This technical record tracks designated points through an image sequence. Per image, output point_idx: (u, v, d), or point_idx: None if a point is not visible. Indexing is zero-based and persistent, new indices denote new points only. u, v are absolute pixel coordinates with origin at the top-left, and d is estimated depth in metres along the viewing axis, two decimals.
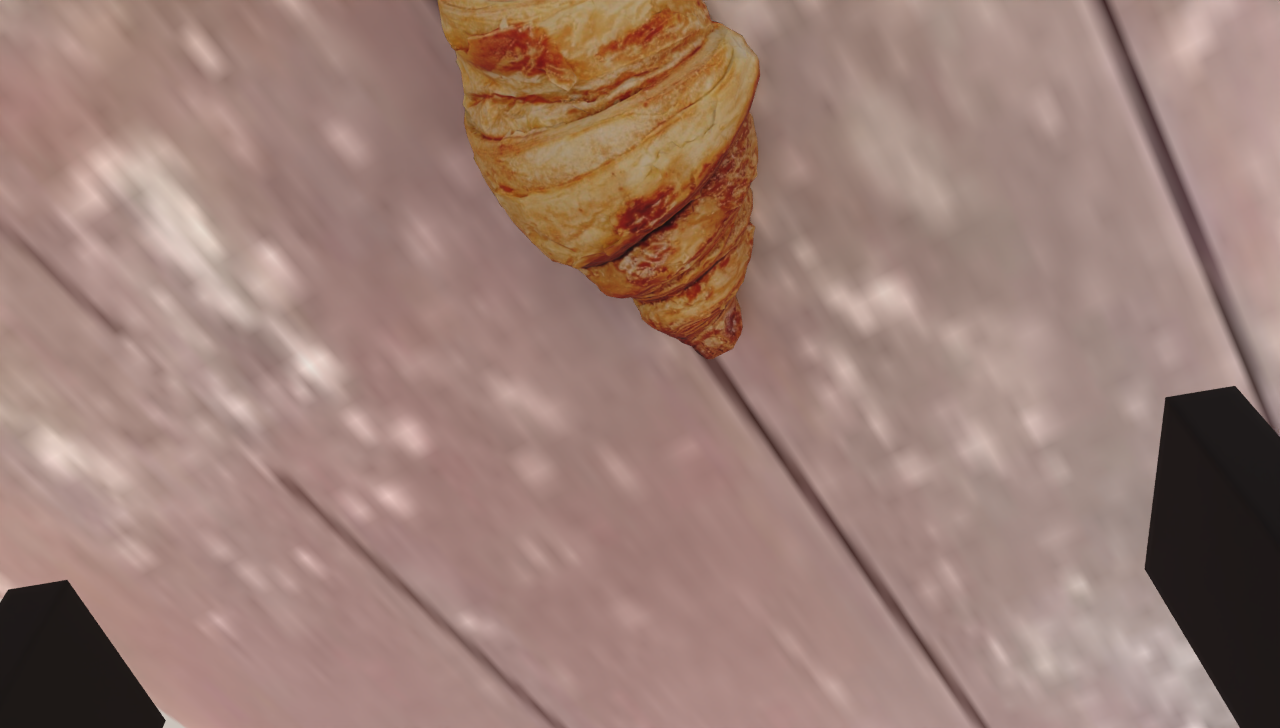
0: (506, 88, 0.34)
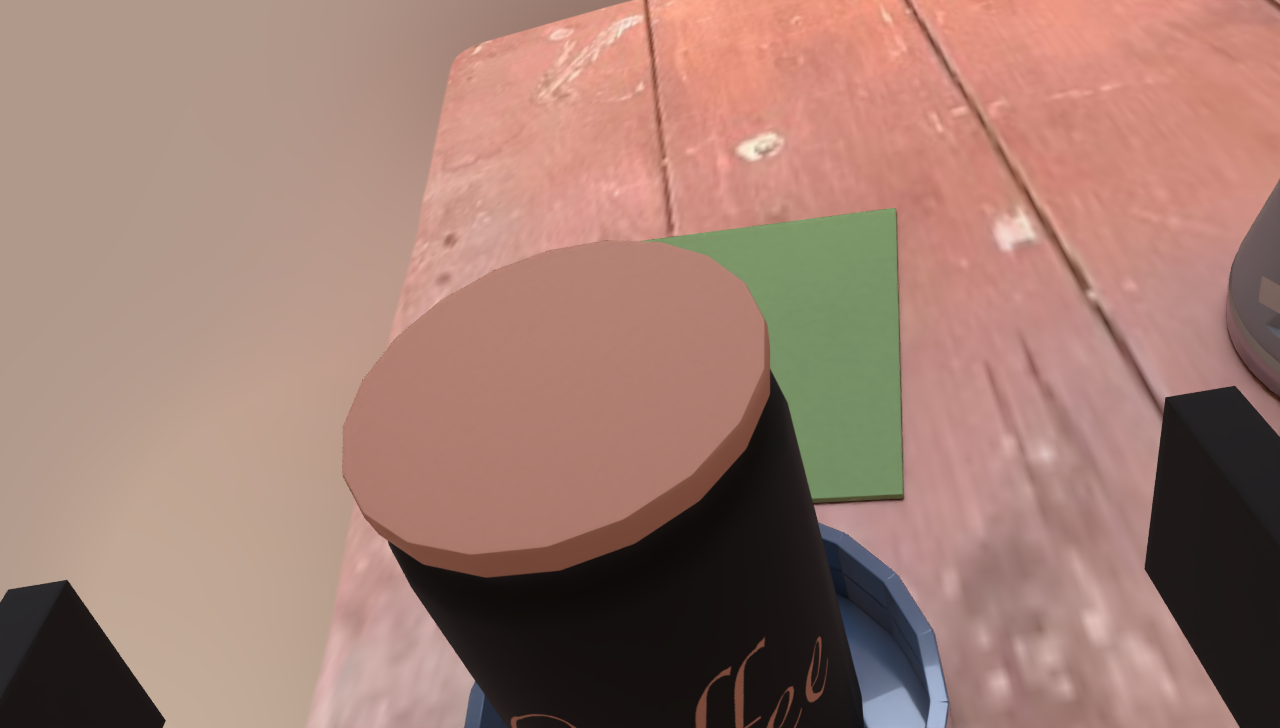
0: None
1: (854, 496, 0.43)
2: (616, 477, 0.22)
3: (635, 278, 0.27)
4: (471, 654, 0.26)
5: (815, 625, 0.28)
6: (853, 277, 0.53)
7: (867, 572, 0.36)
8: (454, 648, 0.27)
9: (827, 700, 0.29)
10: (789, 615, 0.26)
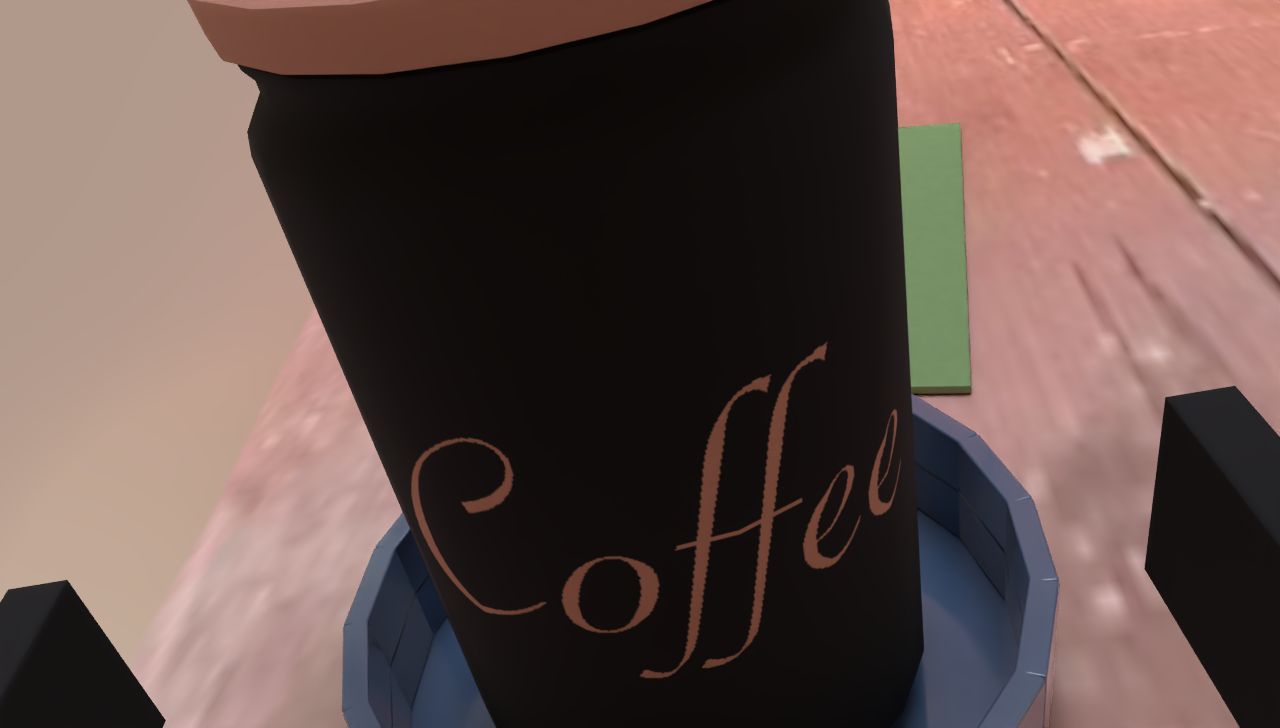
0: None
1: None
2: None
3: None
4: (354, 319, 0.16)
5: (893, 384, 0.18)
6: (908, 181, 0.44)
7: (935, 433, 0.26)
8: (333, 332, 0.17)
9: (893, 526, 0.19)
10: (865, 328, 0.17)
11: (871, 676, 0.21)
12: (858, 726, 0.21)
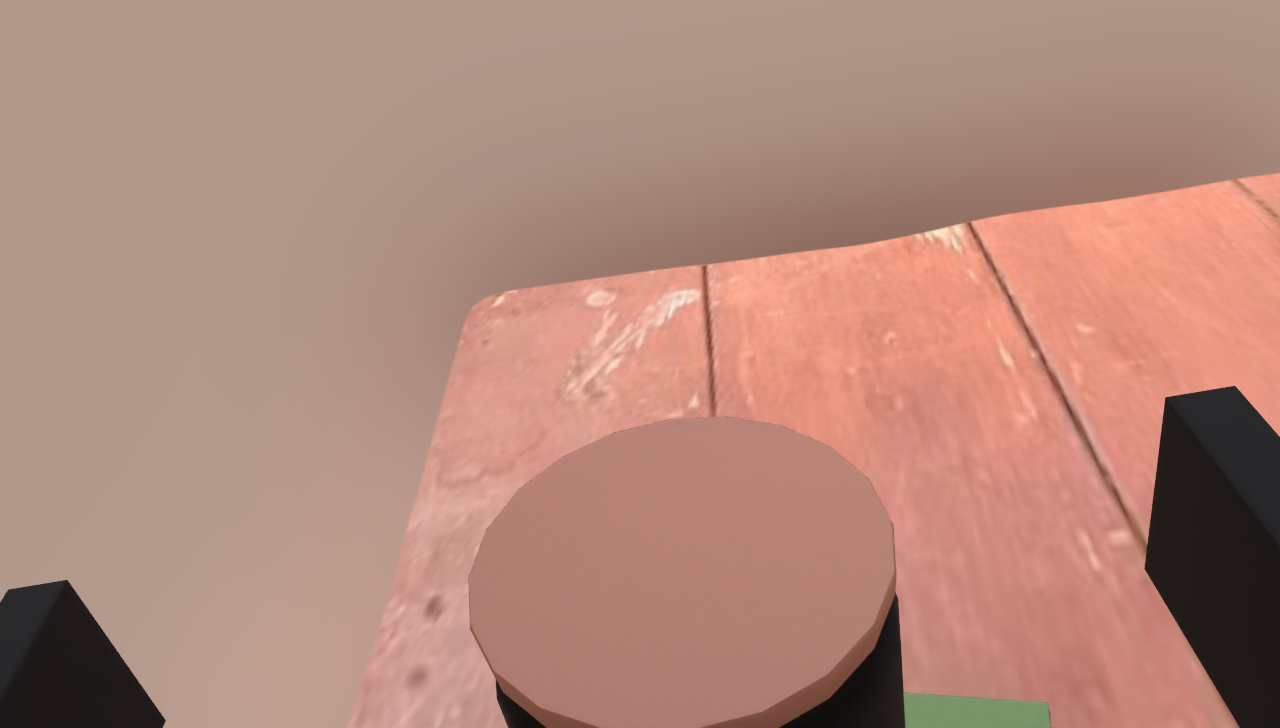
0: None
1: None
2: (752, 667, 0.23)
3: (759, 459, 0.28)
4: None
5: None
6: None
7: None
8: None
9: None
10: None
11: None
12: None
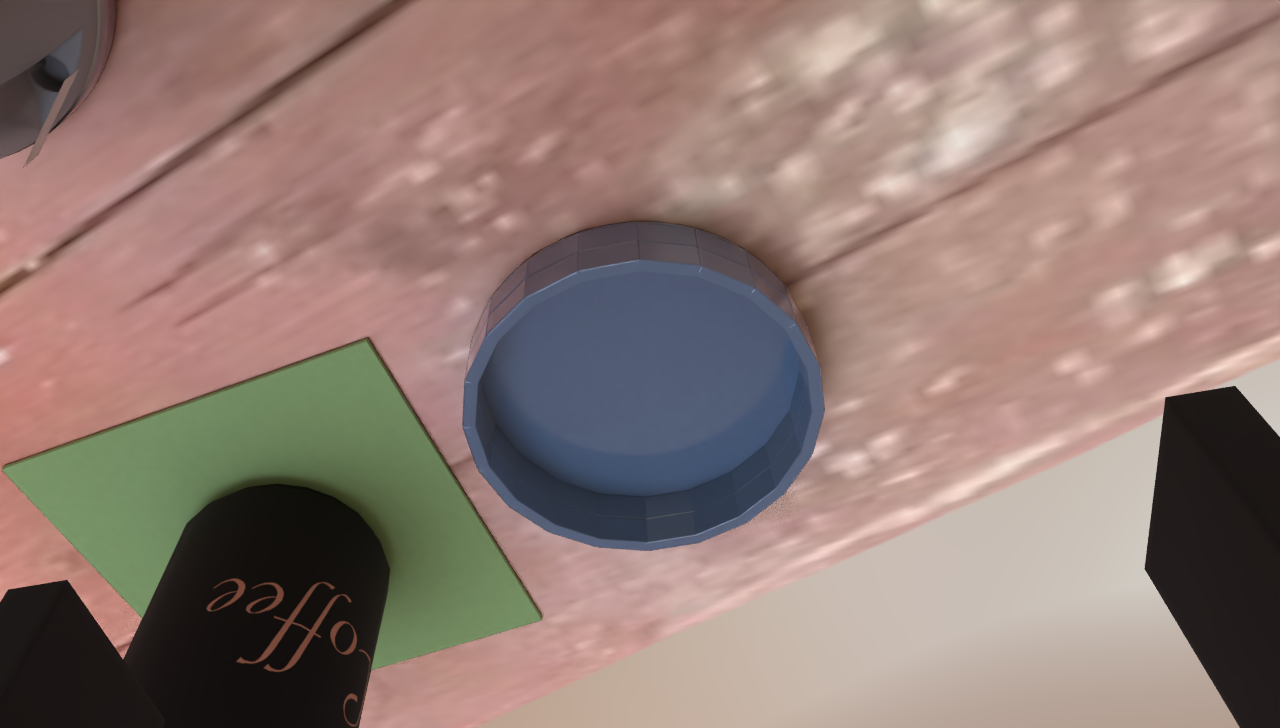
0: None
1: (386, 373, 0.49)
2: None
3: None
4: None
5: (203, 620, 0.44)
6: (126, 467, 0.51)
7: (491, 354, 0.45)
8: None
9: (235, 568, 0.47)
10: (214, 653, 0.43)
11: (279, 522, 0.49)
12: (295, 509, 0.50)
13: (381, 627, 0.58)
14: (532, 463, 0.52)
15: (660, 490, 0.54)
